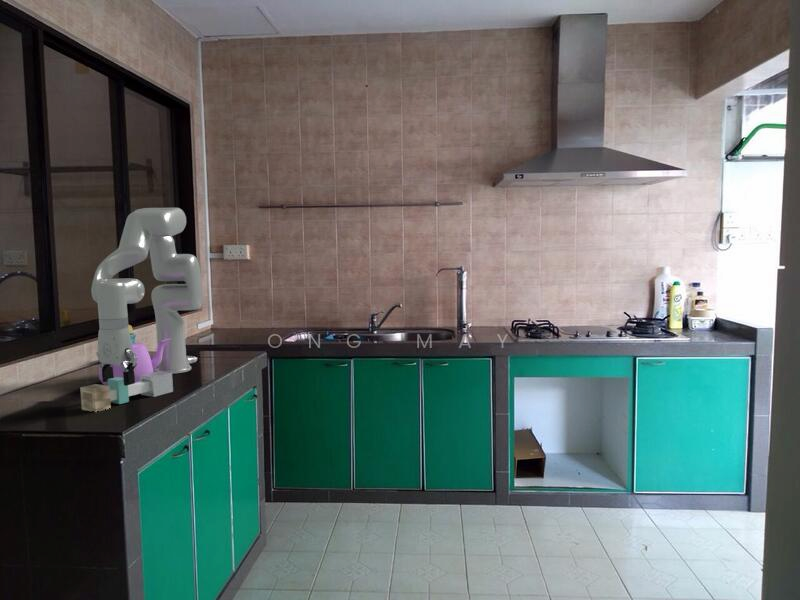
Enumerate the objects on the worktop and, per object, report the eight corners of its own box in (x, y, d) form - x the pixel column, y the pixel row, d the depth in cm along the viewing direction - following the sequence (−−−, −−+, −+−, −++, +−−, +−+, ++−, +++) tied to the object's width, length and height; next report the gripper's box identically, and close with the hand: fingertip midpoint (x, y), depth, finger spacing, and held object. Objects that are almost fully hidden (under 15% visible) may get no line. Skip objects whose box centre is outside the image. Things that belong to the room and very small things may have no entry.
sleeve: (160, 389, 191) (159, 371, 190) (173, 391, 188) (172, 372, 187) (140, 394, 185) (139, 375, 184) (153, 396, 182) (152, 377, 181)
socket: (96, 405, 173) (95, 384, 172) (110, 408, 169) (109, 386, 169) (81, 409, 169) (80, 387, 168) (95, 412, 166) (94, 389, 165)
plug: (145, 393, 185) (143, 371, 185) (155, 394, 183) (154, 372, 182) (87, 407, 170) (86, 383, 169) (98, 409, 167) (96, 385, 166)
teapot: (98, 394, 187) (94, 346, 185) (100, 381, 206) (97, 337, 204) (176, 385, 196) (173, 339, 195) (171, 374, 215) (169, 332, 214)
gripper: (83, 324, 175) (88, 382, 177) (121, 328, 166) (126, 389, 168) (107, 320, 181) (112, 376, 183) (145, 324, 172) (149, 382, 174)
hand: (118, 382), depth 175 cm, fingers open, 9 cm apart
